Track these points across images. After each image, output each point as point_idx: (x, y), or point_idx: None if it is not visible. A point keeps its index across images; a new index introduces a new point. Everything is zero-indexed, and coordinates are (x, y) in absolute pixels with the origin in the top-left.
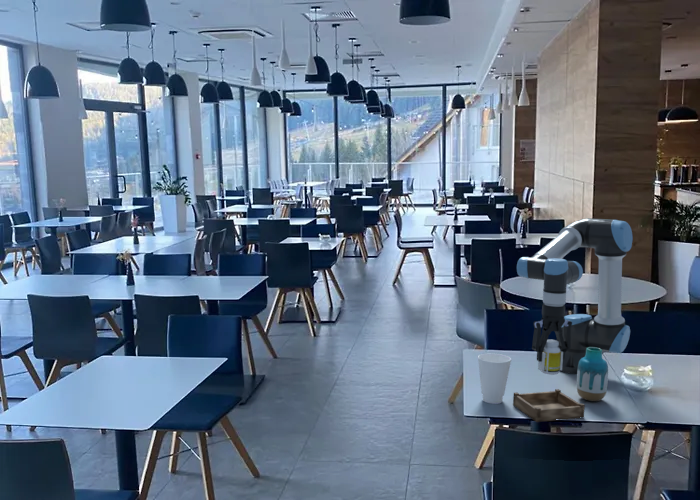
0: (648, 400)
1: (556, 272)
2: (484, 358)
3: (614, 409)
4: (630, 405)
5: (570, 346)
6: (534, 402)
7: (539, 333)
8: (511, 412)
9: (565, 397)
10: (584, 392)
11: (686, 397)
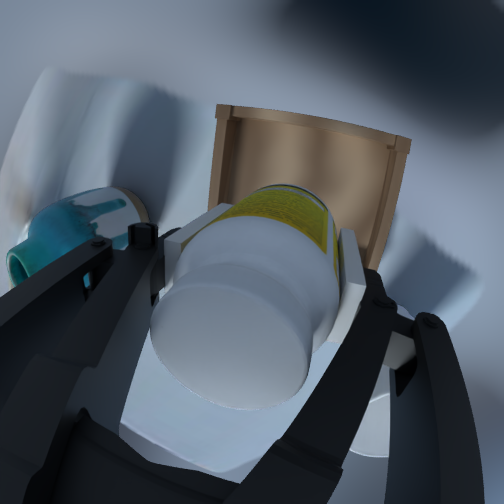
0: (45, 171)
1: None
2: (388, 441)
3: (119, 141)
4: (79, 155)
5: (83, 243)
6: None
7: (458, 474)
8: (411, 235)
9: (218, 203)
10: (140, 214)
11: (7, 168)
